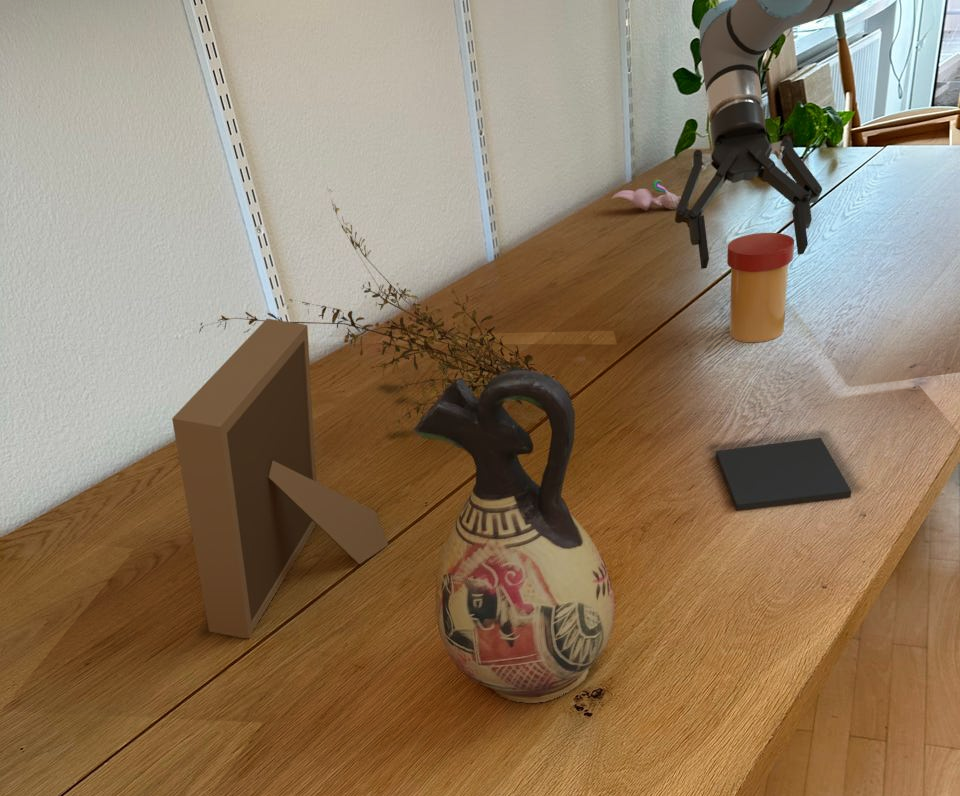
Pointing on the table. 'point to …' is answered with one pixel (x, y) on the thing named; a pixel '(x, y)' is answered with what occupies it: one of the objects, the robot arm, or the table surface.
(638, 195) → the pink toy figure
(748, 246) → the lid
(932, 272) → the table surface
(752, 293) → the jar
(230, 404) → the photo frame
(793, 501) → the mat
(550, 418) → the ceramic jug
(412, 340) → the dried plant
